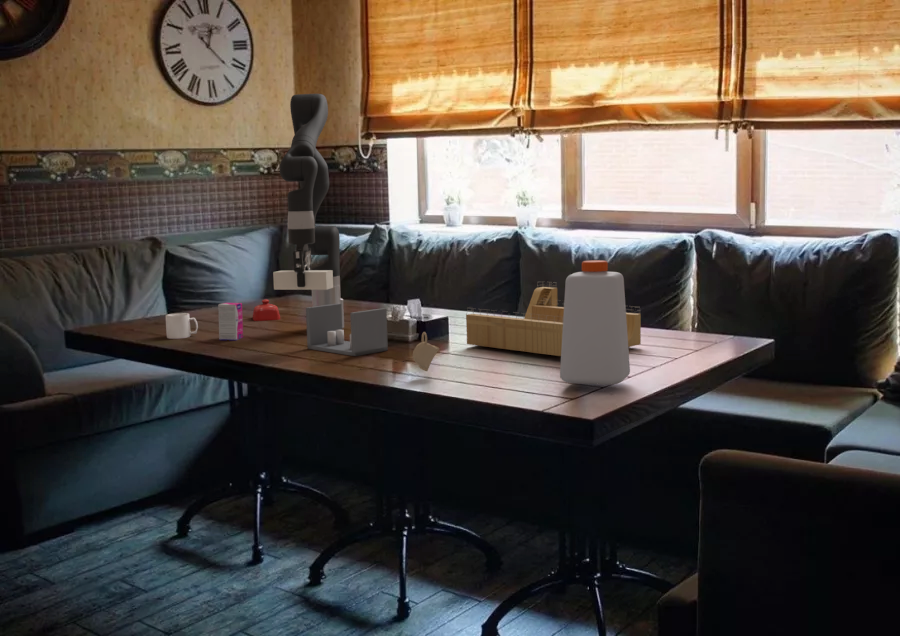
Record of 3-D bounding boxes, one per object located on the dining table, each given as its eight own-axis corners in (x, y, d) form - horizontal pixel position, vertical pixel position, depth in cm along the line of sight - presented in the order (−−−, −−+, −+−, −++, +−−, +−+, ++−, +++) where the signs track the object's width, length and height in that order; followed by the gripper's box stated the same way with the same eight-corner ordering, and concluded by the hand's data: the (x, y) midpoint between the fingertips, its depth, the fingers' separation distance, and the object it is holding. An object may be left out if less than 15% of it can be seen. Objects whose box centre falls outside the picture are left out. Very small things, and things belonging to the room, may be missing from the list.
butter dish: (284, 324, 348) (283, 300, 347) (250, 326, 345) (249, 302, 344) (282, 320, 359) (280, 296, 358) (249, 322, 356) (247, 298, 355)
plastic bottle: (555, 383, 236) (554, 263, 232) (571, 371, 250) (571, 258, 246) (620, 386, 231) (620, 264, 227) (633, 374, 244) (633, 258, 241)
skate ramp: (466, 347, 292) (465, 292, 290) (543, 332, 317) (542, 281, 315) (578, 362, 264) (577, 301, 262) (652, 344, 290) (653, 288, 287)
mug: (198, 335, 326) (197, 312, 325) (198, 339, 319) (196, 315, 318) (167, 337, 324) (166, 313, 323) (166, 340, 317) (164, 316, 316)
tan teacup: (415, 366, 257) (404, 359, 253) (431, 338, 258) (420, 330, 254) (426, 372, 255) (415, 364, 251) (443, 343, 256) (432, 335, 252)
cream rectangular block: (333, 287, 292) (332, 270, 292) (326, 289, 287) (325, 272, 286) (281, 287, 296) (280, 270, 295) (274, 289, 291) (273, 272, 290)
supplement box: (236, 341, 312) (234, 304, 310) (218, 341, 313) (216, 304, 311) (244, 338, 317) (242, 302, 316) (226, 338, 318) (224, 302, 317)
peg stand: (307, 348, 295) (305, 307, 293) (339, 343, 303) (338, 303, 301) (355, 356, 280) (353, 313, 278) (387, 350, 288) (386, 308, 286)
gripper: (309, 228, 282) (311, 288, 284) (318, 225, 296) (321, 283, 298) (282, 228, 282) (285, 288, 284) (293, 226, 296) (295, 283, 299)
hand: (303, 285), depth 291 cm, fingers closed on cream rectangular block, 6 cm apart
